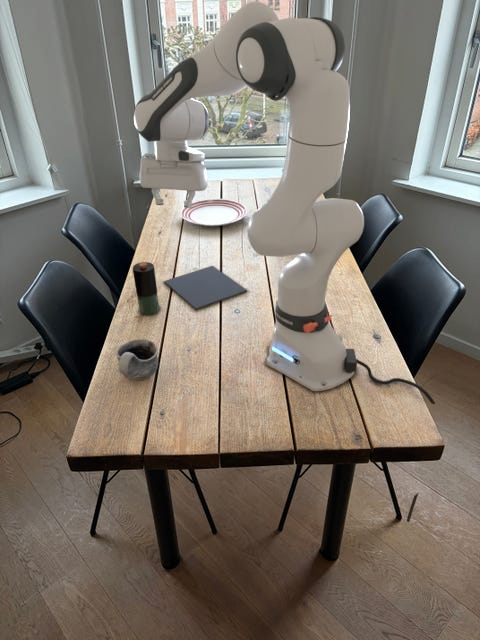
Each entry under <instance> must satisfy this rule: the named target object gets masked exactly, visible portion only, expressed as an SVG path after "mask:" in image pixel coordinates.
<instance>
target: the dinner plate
mask: <svg viewBox="0 0 480 640" xmlns="http://www.w3.org/2000/svg"><path fill="white" fill-rule="evenodd" d="M247 214H248V208H247V206H246V205H244V204H243V203H242V202H239V201H236V200H234V199H233V200H232V199H226V198H209V199H208V198H207V199H202V200H196V201H192V207H190V208H186V207H184V206H183V208H182V209H181V210H180V217H181V218H182V219H183V220H184V221H186V222H189V223H190V224H195V225H198V226H204V227H205V226H206V227H220V226H221V227H223V226H226V225H231V224H233V223H236V222H238V221H240V220H242V219H243V218H245V217H246V216H247Z"/></svg>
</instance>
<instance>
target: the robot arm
mask: <svg viewBox="0 0 480 640" xmlns="http://www.w3.org/2000/svg"><path fill="white" fill-rule="evenodd" d="M345 50H346V44H345V38H344V34H343V32H342V30H341V28H340V27H339V26H338V25H337V23H336V22H334V21H332V20H331V19H327V18H323V17H318V16H313V17H312V16H311V17H307V18H302V17H300V18H299V17H298V18H296V17H287V18H281V19H279V17H278V15H277V14H276V12H275V11H274V9H273V8H271V6H269V5H267V4H266V3H264V2H261V1H250V2H247V3H245V4H244V5H243V6H241V7H240V8H239V9H238V10H237V11H235V12H234V13H233V14H232V15H231V16H230V17H229V18H228V20H227V21H225V23H224V24H223V25H222V27H221V28H220V29H219V30H218V31H217V33H216V34H215V36H214V37H213V38H212V39H211V40H210V41H209V42H208V43H207V44H206V45H205V46H204V47H202V48H201V49H200V50H199V51H197V52H195V53H194V54H192V55H191V56H189V57H187V58H185V59H184V60H182V61H180V62H179V63H178V64H177V65H176V66H175V67H173V69H172V70H171V71H170V72H169V73H168V74H167V75H166V76H165V77H164V78H163V79H162V81H160V82H159V83H158V85H157V86H156V87H155V88H154V89H153V90H152V91H151V92H150V93H148V94H145V95H144V96H142V97H141V99H139V100H138V101H137V103H136V105H135V107H134V110H133V125H134V128H135V130H136V132H137V133H138V134H139V135H140V136H141V137H142V138H143V139H144V140H145V141H147V142H154V153H150V152H149V153H148V152H147V153H144V154H143V155H142V156H141V157H140V171H139V184H140V186H141V188H143V189H151V194H152V196H153V197H154V199H155V205H156V206H164V203H165V202H164V198H162V197H161V195H160V193H161V190H174V191H186V195H187V198H186V200H183V208H184V207H186V208H190V207H192V203H193V200H194V198H195V196H196V192H203V191H204V192H205V191H206V189H207V188H208V172H207V166H206V164H205V163H204V161H205V159H206V157H205V153H203V151H202V152H201V151H199V150H197V149H194V148H192V147H189V142H193V141H200V140H202V139H203V138H204V137H205V136H206V134H207V132H208V130H209V126H210V116H209V115H210V114H209V111H208V109H207V108H206V106H205V104H204V103H203V102H202V101H200V100H196V99H195V98H203V97H225V96H226V97H227V96H233V95H235V94H238V93H239V92H241V91H243V90H244V89H246V88H247V87H249V88H250V89H251V90H253V91H254V92H257V93H260V94H263V95H265V96H266V97H267V98H269V99H270V100H271V101H274V102H278V101H281V100H282V99H284V98H285V100H286V101H287V103H288V108H289V122H288V132H287V143H286V151H285V159H284V166H283V171H282V175H281V177H280V180H279V182H278V184H277V186H276V188H275V189H274V191H273V193H272V194H271V195H270V197H269V198H268V199H267V200H266V201H265V202H264V204H262V205H261V206H260V207H258V208H257V209H256V210H255V211H254V212H253V213H252V214H251V216H250V217H249V220H248V223H247V227H246V230H247V231H246V234H247V240H248V242H249V244H250V247H251V248H252V249H253V250H254V252H255V253H257V255H259V256H263V257H276V258H284V257H290V256H295V258H294V259H292V260H291V261H290V262H288V263H287V264H285V266H283V267H282V269H281V271H280V273H279V275H278V282H277V300H276V302H275V306H274V317H275V324H274V328H273V331H272V336H271V342H270V345H269V349H268V353H269V355H268V356H267V358H266V365H267V366H269V367H270V368H272V369H274V370H275V371H278V372H279V373H281V374H283V375H284V376H286V377H288V378H290V379H291V380H293V381H295V382H297V383H298V384H300V385H302V386H303V387H305V388H307V389H309V391H310V390H311V391H312V392H323V391H327V390H330V389H333V388H336V387H338V386H340V385H342V384H344V383H345V382H347V381H348V380H350V379H351V378H352V377H353V376H354V374H355V373H356V371H357V365H360V366H362V367H363V368H365V369H366V371H367V375H368V378H369V379H370V380H371V381H373V382H374V383H376V384H379V385H380V384H381V385H389V384H392V383H395V382H399V383H404V384H407V385H410V386H412V387H414V388H416V389H417V390H418V391H420V392H421V393H422V394H423V395H424V396H425V397H426V398H427V399H428V401H429V402H430V403H431V404H432V405H435V404H436V402H435V401H434V399H433V398H432V396H431V395H430V394H429V392H427V391H426V390H425V388H423V387H422V386H421V385H419V384H418V383H415V382H413V381H411V380H407V379H404V378H399V377H393V378H391V379H388V380H381V379H377V378H376V377H374V376H373V374H372V370H371V368H370V366H369V365H368V364H367V363H365V362H363V361H361V360H359V359H357V356H356V352H355V348H346V345H345V344H344V343H343V337H342V335H341V334H340V333H336V330H335V329H334V328H333V326H332V325H331V323H330V321H331V320H332V319H333V318H332V317H333V315H332V314H330V315H329V314H328V309H327V306H326V302H325V301H326V295H327V290H328V289H327V288H328V283H329V279H330V276H331V273H332V271H333V269H334V267H335V266H336V264H337V263H338V262H339V259H340V258H341V257H342V255H343V254H344V253H345V252H346V251H347V250H348V249H349V248H350V247H352V246H353V245H354V244H356V243H357V242H358V241H359V240H360V238H361V236H362V234H363V232H364V228H365V216H364V213H363V210H362V208H361V207H360V206H359V204H358V203H357V202H356V201H355V200H353V199H348V198H347V199H346V198H336V197H330V198H322V199H319V198H320V197H321V196H322V195H323V194H324V193H325V192H327V191H329V190H330V189H332V188H333V187H334V186H335V185H337V182H338V181H339V180H340V178H341V175H342V172H343V164H344V159H345V152H346V147H347V140H348V134H349V133H348V132H349V126H350V125H349V124H350V112H351V111H350V109H351V104H350V103H351V99H350V98H351V96H350V95H351V94H350V85H349V83H348V81H347V78H346V77H345V76H343V75H342V74H341V73H340V72H337V71H338V70H339V68H340V67H341V65H342V63H343V60H344V57H345ZM296 255H297V256H296ZM418 496H419V492H417V493H416V494H415V495H413V498H412V501H411V505H410V508H409V510H408V514H407V518H406V522H407V523H410V522H411V517H412V514H413V511H414V508H415V505H416V502H417V499H418Z"/></svg>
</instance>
